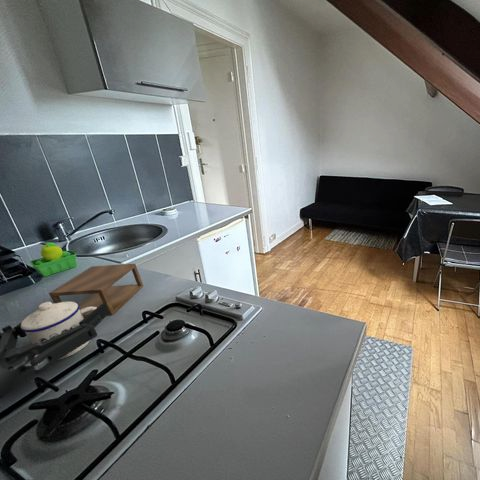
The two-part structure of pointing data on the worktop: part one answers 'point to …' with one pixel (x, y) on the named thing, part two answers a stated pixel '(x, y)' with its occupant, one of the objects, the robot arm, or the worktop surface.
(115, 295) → the rack
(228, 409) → the worktop surface
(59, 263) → the fruit basket
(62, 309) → the teacup with lid
